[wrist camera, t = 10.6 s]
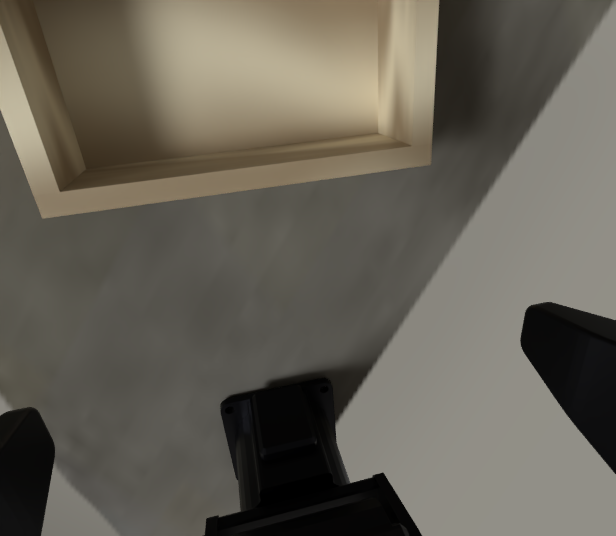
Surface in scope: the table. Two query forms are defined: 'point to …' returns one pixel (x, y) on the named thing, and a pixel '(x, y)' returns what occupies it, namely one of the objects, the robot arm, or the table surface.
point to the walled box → (212, 95)
